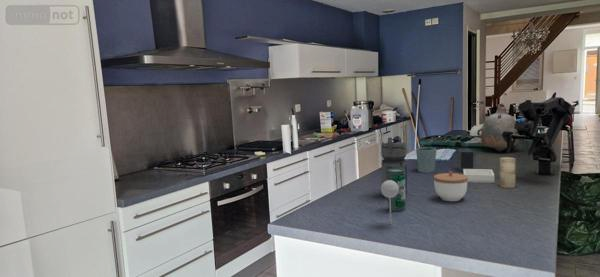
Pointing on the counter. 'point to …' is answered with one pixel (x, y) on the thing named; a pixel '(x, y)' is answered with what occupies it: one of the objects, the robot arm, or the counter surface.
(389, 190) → the lollipop
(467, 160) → the small box
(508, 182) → the canister
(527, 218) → the counter surface
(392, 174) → the can
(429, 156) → the drinking glass
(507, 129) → the jug
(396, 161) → the beverage bottle
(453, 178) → the lidded bowl
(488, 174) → the tray
